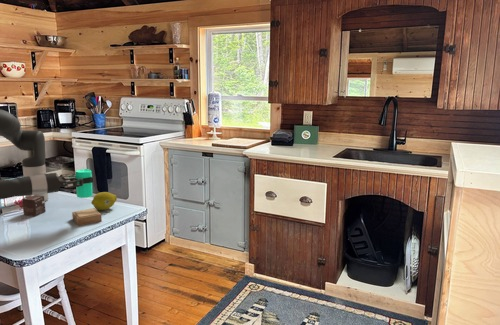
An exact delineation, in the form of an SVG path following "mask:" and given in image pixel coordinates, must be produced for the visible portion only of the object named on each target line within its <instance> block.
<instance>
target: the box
mask: <svg viewBox="0 0 500 325" xmlns="http://www.w3.org/2000/svg"><path fill="white" fill-rule="evenodd" d="M21 200H22V211H23V215H24V216H33V217H37V216H40V215H42V214H44V213H46V203H45V202H46V201H44V196H39V195H31V196H28V197H26V196H25V197H24V198H22V199H21Z"/></svg>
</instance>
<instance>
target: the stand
mask: <svg viewBox="0 0 500 325" xmlns="http://www.w3.org/2000/svg"><path fill="white" fill-rule="evenodd" d="M71 214H72V220H73V221H74V222H75V224H76V225H77V226H78V227H80V226H83V225H90V224H95V223H98V222H102V213H100V212H99V210H97V209H96V208H95V207H93V208H89V209H82V210H77V211H72V212H71Z"/></svg>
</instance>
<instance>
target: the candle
mask: <svg viewBox="0 0 500 325" xmlns="http://www.w3.org/2000/svg"><path fill="white" fill-rule="evenodd" d="M74 174H75V175H76V178H89V177H92V178H93V174H92V170H91V169H89V168H87V169H86V168H84V167H82V169H78V170H75V172H74ZM77 183H79V182H77ZM75 188H76V197H77V198H80V199H87V198H91V197H93V195H94V194H93V192H94V190H93V182H92V183H86V184H83V186H79V187H75Z"/></svg>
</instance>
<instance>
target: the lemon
mask: <svg viewBox="0 0 500 325" xmlns="http://www.w3.org/2000/svg"><path fill="white" fill-rule="evenodd" d="M117 199H118V198H117V195H116V194H113V193H111V192H108V191H102V192H98V193H96V194H95V195H94V196H93V198H92V200H91V204H92V205H93V208H95V209H96V210H97V211H106V210H108V209H110V208H112V207H113V206H114V205H115V203H116V202H117Z"/></svg>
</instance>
